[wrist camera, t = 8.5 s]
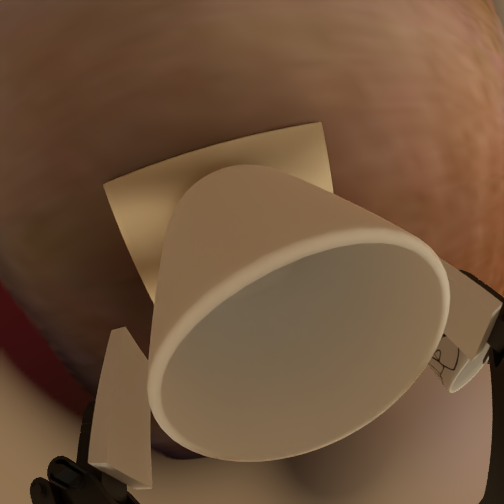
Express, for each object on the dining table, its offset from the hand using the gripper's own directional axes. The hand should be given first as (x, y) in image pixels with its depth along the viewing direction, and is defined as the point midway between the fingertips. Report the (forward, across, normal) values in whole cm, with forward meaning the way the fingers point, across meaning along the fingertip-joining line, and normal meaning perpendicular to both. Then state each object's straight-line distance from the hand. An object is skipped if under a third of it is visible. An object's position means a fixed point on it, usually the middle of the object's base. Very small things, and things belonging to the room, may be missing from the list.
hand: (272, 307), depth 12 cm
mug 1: (+4, 0, 0) cm, 4 cm away
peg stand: (+8, 0, 0) cm, 8 cm away
